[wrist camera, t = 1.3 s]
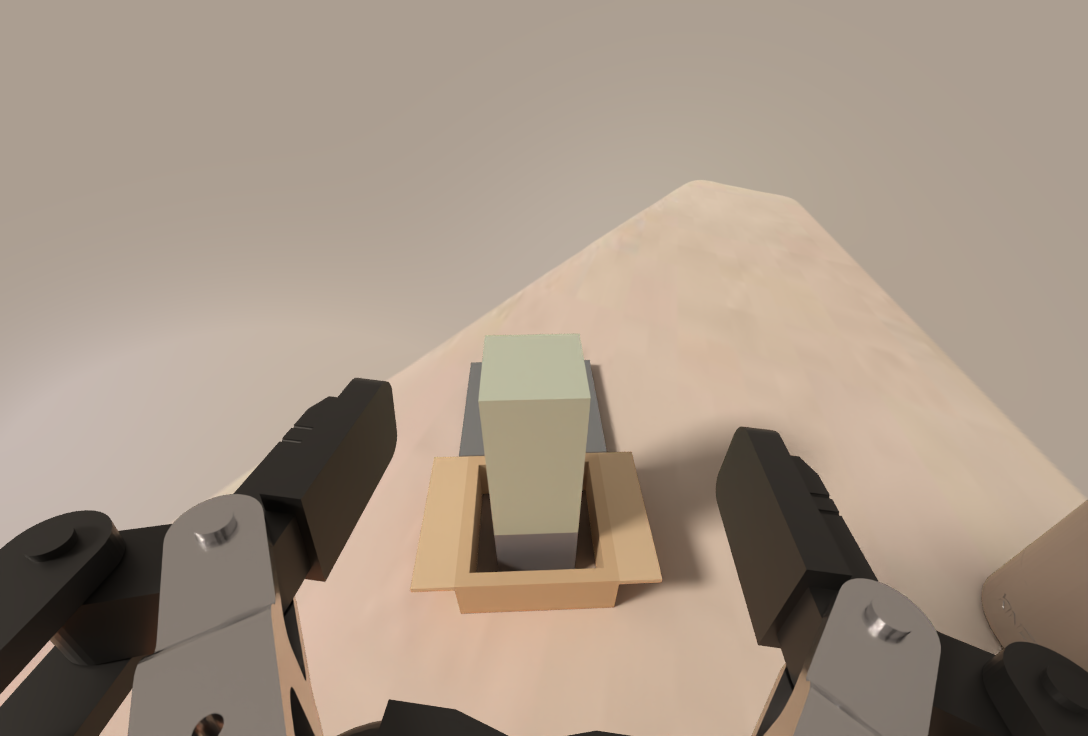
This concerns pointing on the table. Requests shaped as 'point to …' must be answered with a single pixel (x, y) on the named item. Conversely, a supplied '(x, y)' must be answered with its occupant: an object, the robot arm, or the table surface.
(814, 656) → the robot arm
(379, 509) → the table surface
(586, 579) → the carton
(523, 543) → the box
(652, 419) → the table surface
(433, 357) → the table surface
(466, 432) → the slate mat
